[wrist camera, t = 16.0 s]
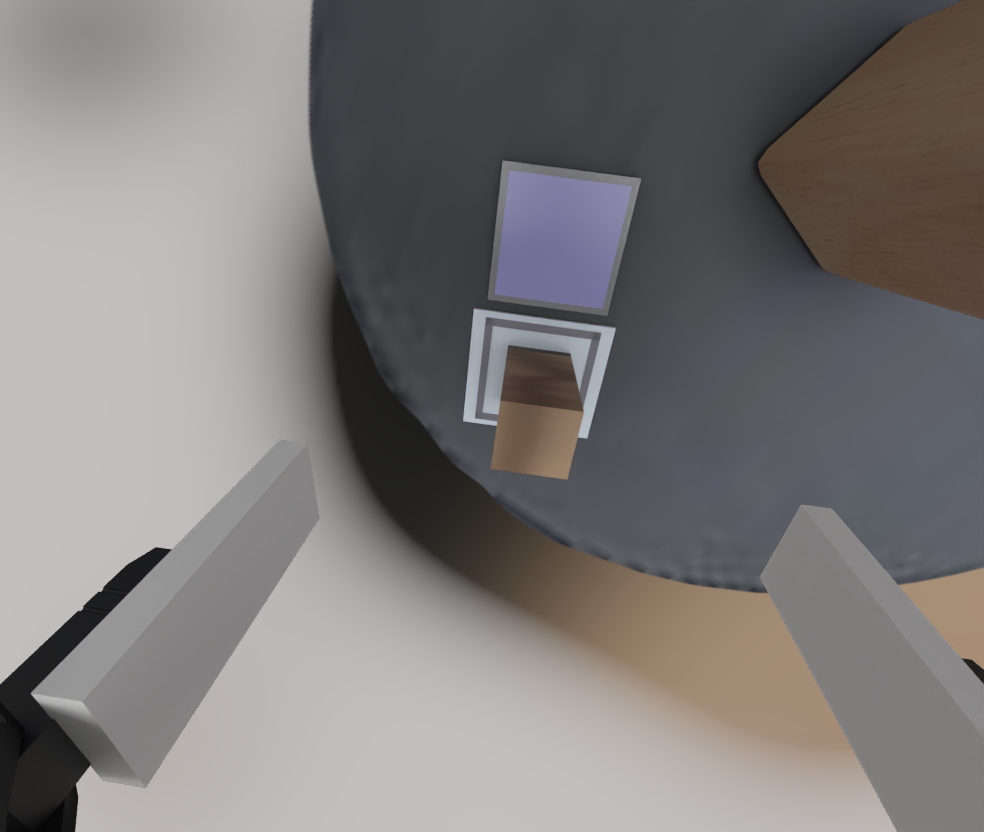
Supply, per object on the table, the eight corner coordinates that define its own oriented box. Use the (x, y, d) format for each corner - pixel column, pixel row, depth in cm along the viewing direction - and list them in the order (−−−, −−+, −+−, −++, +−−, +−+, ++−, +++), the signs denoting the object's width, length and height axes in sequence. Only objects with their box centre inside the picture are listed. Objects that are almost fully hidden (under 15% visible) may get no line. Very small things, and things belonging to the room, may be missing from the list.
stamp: (570, 353, 34) (584, 412, 25) (558, 408, 37) (567, 479, 28) (508, 344, 34) (500, 400, 26) (500, 400, 37) (490, 468, 28)
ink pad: (637, 178, 29) (642, 178, 28) (605, 312, 33) (607, 316, 32) (503, 161, 29) (502, 160, 28) (488, 296, 33) (487, 300, 32)
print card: (615, 326, 33) (616, 328, 33) (586, 436, 38) (587, 439, 38) (474, 307, 34) (473, 309, 33) (463, 418, 38) (463, 421, 38)
